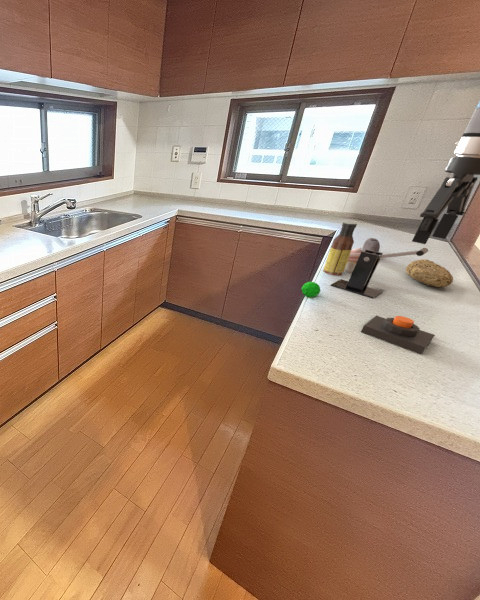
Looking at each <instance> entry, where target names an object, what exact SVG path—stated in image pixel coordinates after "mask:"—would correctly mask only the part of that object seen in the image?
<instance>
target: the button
mask: <svg viewBox="0 0 480 600" xmlns="http://www.w3.org/2000/svg"><path fill="white" fill-rule="evenodd" d="M393 318H394V320H393V322H392V323H393V324H395V325H397V326H400V327H403V328H411V327H412V325H413V324H415V321H414V320H413V319H412V318H409V317H406V316H402V315H396V316H395V317H393Z"/></svg>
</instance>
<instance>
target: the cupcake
mask: <svg viewBox="0 0 480 600" xmlns="http://www.w3.org/2000/svg"><path fill="white" fill-rule="evenodd" d="M362 251H363V249H362V248H361V247H356V248H352V250H351V253H350V256H349V258H348V261H347V264H346V266H345V269H344V272H343V273H348V274H352V272H353V270H354V267H355V265H356V263H357V261H358V258H359V256H360V254H361V252H362Z"/></svg>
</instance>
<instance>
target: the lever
mask: <svg viewBox="0 0 480 600" xmlns="http://www.w3.org/2000/svg"><path fill="white" fill-rule="evenodd" d="M428 252H429V249H428V248H427V247H422V248H421V249H419V250H411V251H410V250H409V251H402V252H392V253H383V254H382V255H379V256H378V258H380V259H386V258H394V257H405V256H414V255H416V256H417V257H422V256H424V255H425V254H427V253H428ZM372 254H376V253H372ZM378 258H377V259H378Z"/></svg>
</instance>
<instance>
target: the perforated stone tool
mask: <svg viewBox="0 0 480 600" xmlns="http://www.w3.org/2000/svg"><path fill="white" fill-rule="evenodd" d="M366 249H367V250H372V251H376V252H380V249H381V243H380V241H379V240H378V239H377V238H374V237H369V238H367V239H366V240H365V241H364V243H363V245H362V251H363V252H365V250H366Z"/></svg>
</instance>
